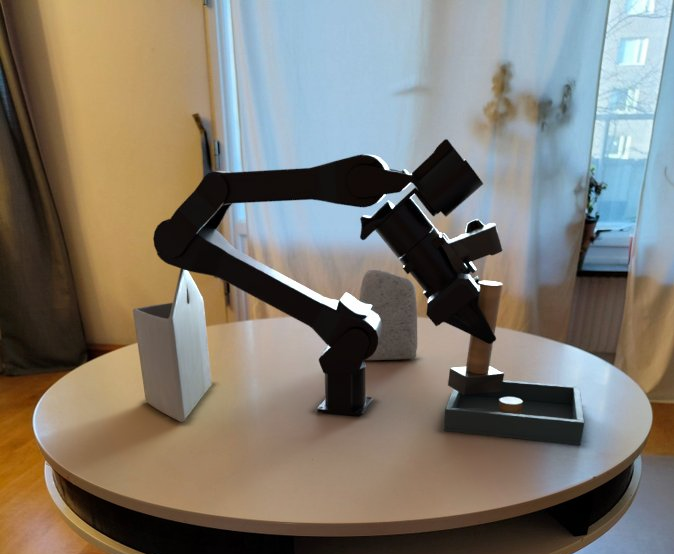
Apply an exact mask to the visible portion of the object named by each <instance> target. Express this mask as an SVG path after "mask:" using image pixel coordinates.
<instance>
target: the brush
mask: <svg viewBox="0 0 674 554" xmlns="http://www.w3.org/2000/svg"><path fill="white" fill-rule="evenodd" d="M478 285H480V296H479V302H478V304H479V306H480V308H481V310H482V312H483V314H484V315H485V317H486V319H487V321H488V323H489V325H490V327H491V329H492V331H493V333H494V334H496V327H497V322H498V315H499V309H500V301H501V296H502V289H503V283H502V282H498V281H493V280H479V282H478ZM493 346H494V342H493V343H491V344H488V343H486V342H484V341H482V340H480V339H478V338H476V337H474V336H472V335H470V336H469V343H468V349H467V350H468V351H467V357H466V365H465V366H457V367H450V368H449V372H448V380H447V386H448V387H449V388H451V389H453V390H454V389H455V390H456V391H458V392H460V393H461V394H463V395H471V394H479V393H488V392H497V391H501V390H502V384H503V380H504V378H505V373H504V372H502V371H501V370H498V369H496V368H494V367H492V366H491V359H492V352H493Z"/></svg>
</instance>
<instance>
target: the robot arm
mask: <svg viewBox="0 0 674 554" xmlns="http://www.w3.org/2000/svg"><path fill="white" fill-rule="evenodd" d="M411 184H413V186H414V188H412V190H410V191H409V192H408V193H407V194H406V195H405V196H404V197H403V198H402V199H401V200H399V201H398V203H397V204H394V203H392V201H390V200H386V202H384V203H383V204H382V205H381V206H380V207H379V208H378V209H377V210H376V211H375V212H374V213H373V214H372V215H362V216H360V219H359V220H360V224H361V227H360V235H359V238H360V240H361V241H365V240H367V239H368V238H369V237H370V236H371V235H372V234H374V232H376V234H377V235H378V236H379V237H380V238H381V240H383V242H384V243H385V244H386V245H387V247H388V248H389V249H390V250H391V251H392V253H393V254H394V255H395V256H396V258H397V259H398V260H399V261H400V263H401V264H402V265H403V266H402V269H403V271H404V272H405V274H407V275H409V274H410V275H411V276H412V277H413V279H414V280H415V281H416V282H417V283H418V285H419V286H420V287H421V288H422V290H423V296H425V298H426V299H427V305H426V306H427V307H426V314H425V315H426V316H427V317H428V318H429V320H430V321H431V322H432V323H433V324H434V326H435V327H438V326H440V325H442V324H443V323H444V324H447V325H449V326H452V327H454V328H456V329H458V330H460V331H462V332H464V333H466V334H468V335H470V336H471V335H472V336H474V337H476V338H478V339H480V340H482V341H484V342H486V343H488V344H491V343H493V344H494V343H495V342H496V341H497V337H496V335H495V334H496V333H495V334H494V333H493V331H492V329H491V327H490V325H489V323H488V321H487V319H486V317H485V315H484V314H483V312H482V310H481V308H480V306H479V304H478V302H479V296H480V285H478V282H479V281H480V278H479V275H476V276H475V277H472V276H471V274H474V273H475V272H477V267H476V266H475V265H474V263H473V262H475V261H477V260H479V259H483V258H484V257H488V256H495V255H497V254H499V253H502V252H503V251H504V249H503V246H502V242H501V239H500V235H499V231H498V228H497V225H496V223H495V222H489V223H487V224H484V223H483V222H482V221H481V219H479V218H475V219H473V220H471V221H468V222H467V224H466V228H465V233H461V234H459V235H458V236H456V237H453V238H450V239H449V237H448V236H447V235H446V233H445V232H443V233H442V232H441V231H440V232H439V230H438V229H437V228H436V227H435V226H434V224H433V223H432V222H431V221H430V219H428V217H427V216H426V214H424V211H422V209H421V208H420V207H419V206H418V204H417V203H416V201H414V199H413V198H412V197H413V196H416V197H417V198H418V200H419V202H420V203H421V204H422V205H423V207H424V208H425V209H426V210H427V212H429V214H430V215H431V216H432V217H436V216H437V215H439V214H440V213H441V214H442V215H443V216H444V217H446V218H447V217H448V216H449V215H450V214H451V213H452V212H453V211H455V210H456V209H458V207H460V205H462V204H463V203H464V202H465V201H466V200H467V199H469V197H470V196H472V195H473V194H474V193H475V192H476V191H477V190H479V188H481V187H482V186H483V185H484V182H483V181H482V179H481V178H480V177H479V175H478V174H477V173H476V171H475V170H474V168H473V167H472V166H471V165H470V163H469V162H468V161H467V159H466V158H463V157H462V156H461V154H460V153H459V152H458V151H457V149H456V148H455V147H454V145H452V143H451V142H450V140H449V139H447V138H445V139H443V140H442V141H441V143H439V144H438V145H437V146H436V148H435V149H434V150H433V152H432V153H431V154H430V155H429V156H428V157H427V158H426V159H425V160H424V161H422V163H420V165H418V166H417V167H416V168H415V170H413V171H412V172H409V171H408V170H407V169H402V170H398V169H394V168H389V166H388V164H387V163H386V162H385V161H384V160H383V159H382V158H381V157H380V156H377V155H374V154H356V155H353V156H349V157H346V158H341V159H337V160H333V161H330V162H326V163H323V164H320V165H316V166H312V167H304V168H303V167H299V168H285V169H283V168H282V169H269V170H268V169H267V170H252V171H249V170H248V171H228V170H213V171H209V172H207V173H205V175H204V176H203V177H202V180H201V181H200V182H199V184H198V185H197V187H196V188H195V189H194V190H193V192H191V194H189V196H188V197H187V198H186V199H185V200H184V201H183V202H182V203H181V205H179V206H178V207H177V208H176V210H175V211H174V212H173V214H172V216H171V217H169V218H167V219H165V220H162V221H161V222H159V224H157V226H156V228H155V229H154V232H153V246H154V248H155V251H156V255H157V257H158V258H159V259H160V260H161V261H163V262H164V263H165V264H167V265H169V266H172V267H175V268H178V269H184V270H187V271H188V272H189V273H190V272H191V273H196V274H201V275H207V276H212V277H215V278H218V279H219V280H222V281H224V282H225V283H228V284H229V285H231V286H233V287H235V288H237V289H239V290H241V291H242V292H244V293H246V294H248V295H250V296H252V297H254V298H256V299H258V300H259V301H261V302H263V303H265V304H267V305H269V306H271V307H272V308H274V309H276V310H278V311H280V312H282V313H284V314H285V315H288V316H289V317H291V318H292V319H295V320H297V321H298V322H300V323H302V324H304V325H306V326H308V327H310V328H311V330H313V331H314V332H315V333H316V334H317V336H318V337H319V338H320V339H321V340H322V341H323V342H324V343H325V344H326V347H325V348H324V350H323V351H322V352H321V355H320V356H319V358H318V363H319V366H320V368H321V371H322V373H323V374H324V400H323V401H322V402H321V403H320V404H319V405H318V406H317V408H316V410H317V412H319V413H328V414H336V415H337V414H338V415H344V416H345V415H347V416H355V417H356V416H357V417H360V416H363V415H364V414H365V413H366V411H367V409H368V408H369V407H370V405H371V404H372V403H373V397H372V396H366V391H367V390H366V388H367V387H366V386H367V385H366V382H367V380H366V378H367V375H366V371H367V369H366V368H367V365H366V363H365V362H364V361H367V360H366V359H368V358H369V357H371V356H372V355H373V354H374V352H375V351H376V349H377V346H378V344H379V341H380V338H381V335H382V329H383V326H382V323H381V320H380V317H379V316H378V315H377V314H376V313H375V312H374V311H372V310H371V308H372V305H371V304H364V303H362V302H360V301H359V299H357V298H355V296H353V295H352V294H350V293H349V292H344V294H343V295H342V296H341V298H340V299H339V300H337V299H334V298H333V299H332V298H329V297H325V296H323V295H322V294H319V293H318V292H316V291H314V290H312V289H310V288H308V287H306V286H305V285H303V284H301V283H299V282H297V281H296V280H294V279H291V278H290V277H288V276H286V275H284V274H283V273H281V272H279V271H278V270H277V271H276V270H275V269H273V268H271V267H269V266H268V265H266V264H264V263H262V262H260V261H258V260H256V259H254V258H253V257H251V256H249V255H247V254H245V253H244V252H242V251H240V250H238V249H237V248H235V247H234V246H232V244H231V243H230V242H229V241H228V240H227V239H226V238H225V237H224V236H223V234H221V232H219V231H218V228H219V227H220V226H221V224H222V222H223V221H224V219H225V217H226V215H227V213H228V211H229V209H230V208H231V207H232V205H233V204H249V203H267V202H268V203H269V202H289V201H292V202H293V201H309V200H311V201H312V200H313V201H319V202H325V203H331V204H335V205H340V206H341V205H343V206H348V207H355V208H368V207H372V206H373V205H376V204H377V203H379V202H381V201H382V200H383V199H384V198H385V197H386V196H387V195H391V194H397V193H398V194H399V193H401V192H402V191H404V190H405V189H407V188H408V187H409V186H410V185H411ZM470 273H471V274H470Z"/></svg>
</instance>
